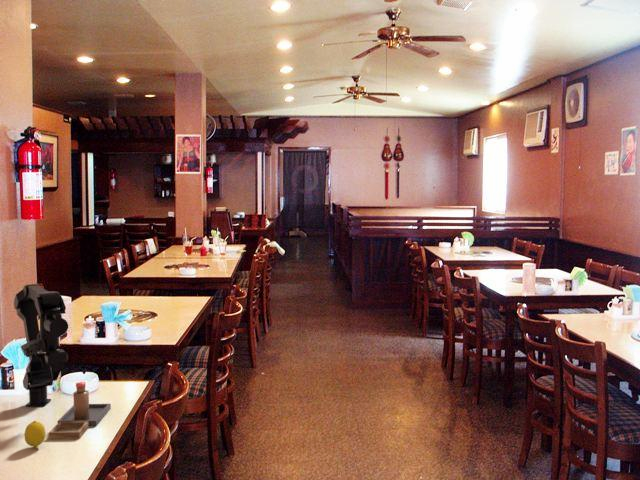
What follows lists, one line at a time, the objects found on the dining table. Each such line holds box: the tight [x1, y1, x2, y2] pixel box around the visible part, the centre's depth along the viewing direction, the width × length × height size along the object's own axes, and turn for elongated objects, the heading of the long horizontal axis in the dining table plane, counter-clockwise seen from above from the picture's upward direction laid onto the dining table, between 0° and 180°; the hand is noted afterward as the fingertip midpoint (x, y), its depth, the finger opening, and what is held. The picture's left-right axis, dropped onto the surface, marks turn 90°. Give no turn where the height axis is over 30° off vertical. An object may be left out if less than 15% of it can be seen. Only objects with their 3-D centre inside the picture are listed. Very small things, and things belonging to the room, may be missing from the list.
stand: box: [48, 421, 90, 440], centre depth 192 cm, size 9×9×2 cm
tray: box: [57, 403, 112, 427], centre depth 205 cm, size 16×12×2 cm
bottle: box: [73, 381, 90, 420], centre depth 202 cm, size 5×5×12 cm
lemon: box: [24, 420, 46, 449], centre depth 181 cm, size 6×6×8 cm
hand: (50, 377), depth 206 cm, fingers open, 9 cm apart
